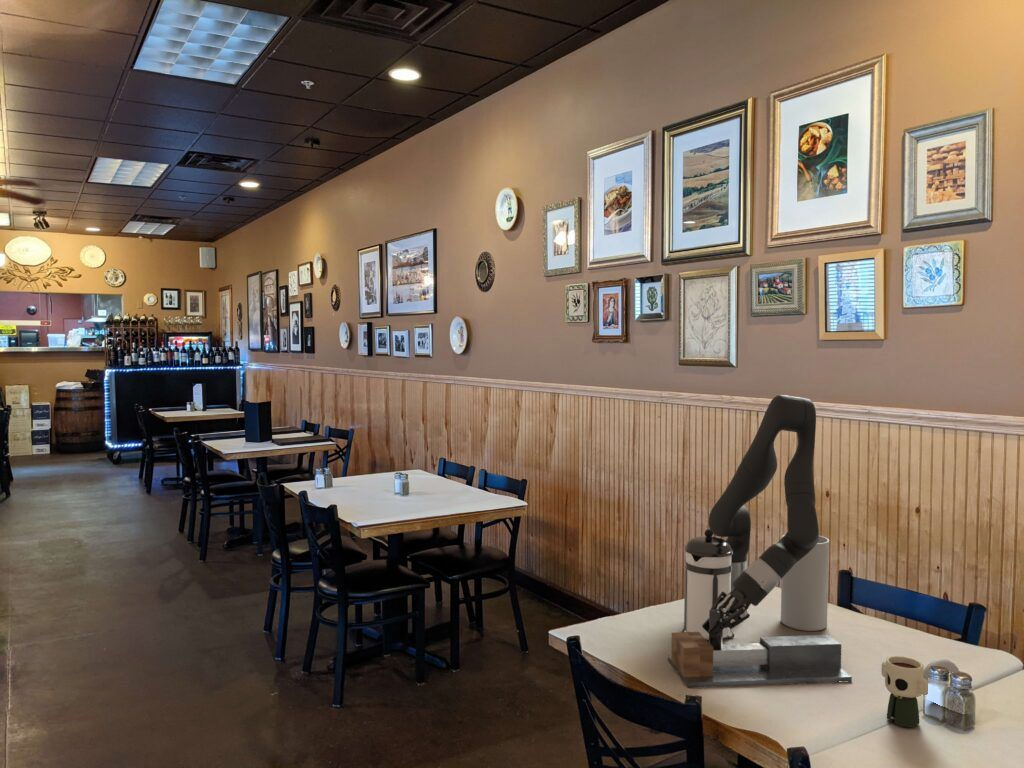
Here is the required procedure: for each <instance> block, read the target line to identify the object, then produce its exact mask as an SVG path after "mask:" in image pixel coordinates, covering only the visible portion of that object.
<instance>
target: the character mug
mask: <svg viewBox="0 0 1024 768" xmlns="http://www.w3.org/2000/svg"><path fill="white" fill-rule="evenodd" d="M924 669H925V667H924V664H923V663H922V661H919V660H917V659H915V658H912V657H908V656H904V655H903V656H901V655H891V656H888V657H887V658H886V661H882V663H881V675H882V677H884V685H885V687H886V689H887V691H888V692H889V693H890V695H889V699H888V703H887V709H886V710H887V711H886V719H887V720H888V721H889V722H892V719H893V720H894V724H895V725H896V726H897V725H898V726H901V727H907V728H912V727H916V726H918V725H919V724H920V711H919V703H918V699H917V698H919V697H922V695H923V696H925V695H927V694H928V681H927V680H926V679H923V671H924Z"/></svg>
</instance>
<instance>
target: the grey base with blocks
mask: <svg viewBox="0 0 1024 768" xmlns="http://www.w3.org/2000/svg"><path fill="white" fill-rule="evenodd" d="M759 643H764V644H765V645H766V646H767V647H768V648H769V664H763V665H734V666H713V676H707V677H683V675H682V674H681V673H680V671H679V670H678V669H677V667H676V666H675V665H674V663H673V662H672V661H671V654H670V655H667V661H668V663H669V664H670V665H671V667H672V668H673V669H674V671H675V672H676V673H677V675H678V676H679V678H680V679H681V680H682V682H683V683H684V685H685V686H686V687H687V688H688V689H690V688H691V689H693V688H696V689H697V688H716V687H717V688H719V687H720V688H721V687H723V686H725V687H745V686H746V687H747V686H748V687H749V686H750V687H751V686H772V685H773V686H775V685H776V686H777V685H778V684H779V685H798V684H797V683H806V684H819V683H818V682H833V683H840V682H839V681H852V682H853V676H852V675H850V674H849V673H848V672H846V671H845V670H844V669H842V666H841V665H842V643H841V642H840V641H838V640H837V639H835V638H834V637H833V636H831V635H830V634H819V635H818V634H817V635H816V634H815V635H811V634H810V635H784V636H783V635H782V636H781V635H779V636H760V637H759Z"/></svg>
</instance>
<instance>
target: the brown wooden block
mask: <svg viewBox="0 0 1024 768" xmlns="http://www.w3.org/2000/svg"><path fill="white" fill-rule="evenodd" d="M670 642H671V647H670V648H671V649H670V652H671V654H670V655H671V661H672V662H673V663H674V665H675V666H676V667H677V669H678V670H679V671H680V673H681V674H682V675H683V677H707V676H713V646H712V645H711V644H710V643H709V640H708V639H705V638H704V637H703V636H702V635H701V634H700V632H687V631H684V632H681V631H680V632H671V641H670Z"/></svg>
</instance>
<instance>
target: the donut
mask: <svg viewBox="0 0 1024 768" xmlns="http://www.w3.org/2000/svg"><path fill="white" fill-rule="evenodd" d="M931 666H941V667H945V668H947V669H948V670H949V671H950V673H952V672H960V671H961V670H959V667H958V666H957V665H956V663H955V662H953V661H951V660H950V659H947V658H936V659H933V660H932V661H930V662H929V663H928V664H927V665H926V666H925V667H924V668H923V679H926V680H927V681H928V676H929V668H930V667H931ZM960 673H961V672H960Z"/></svg>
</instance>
